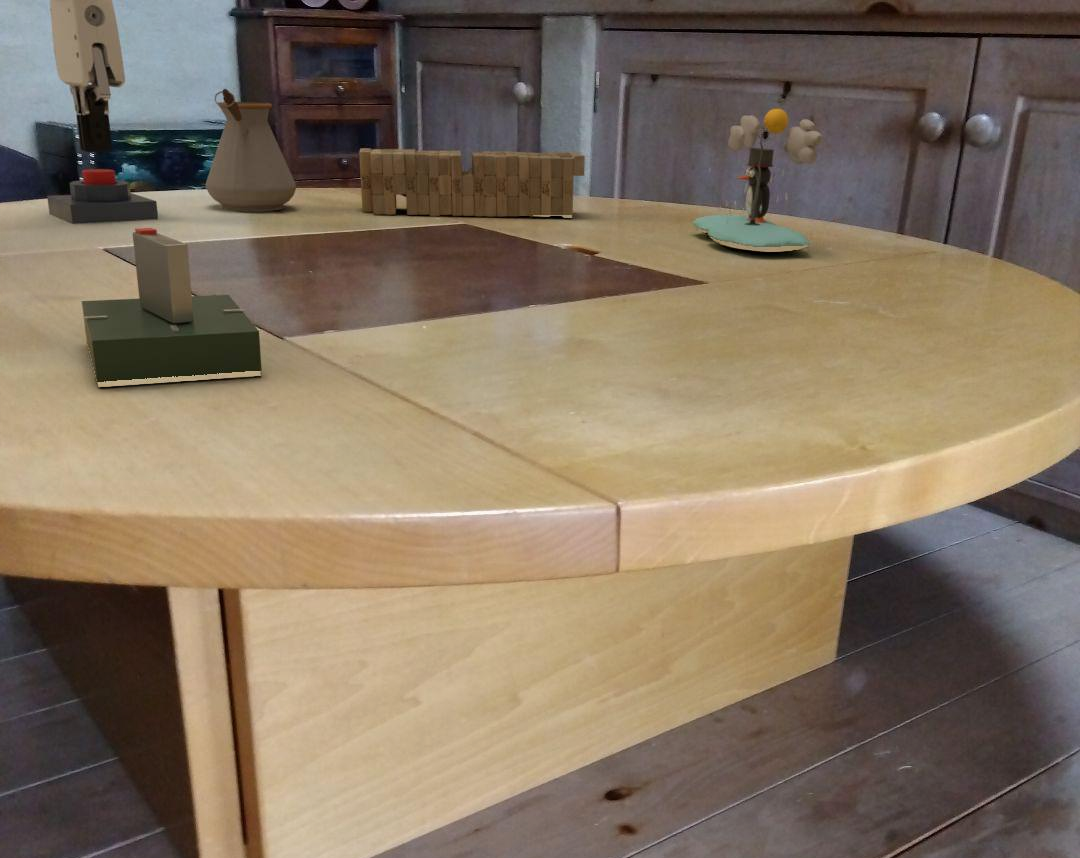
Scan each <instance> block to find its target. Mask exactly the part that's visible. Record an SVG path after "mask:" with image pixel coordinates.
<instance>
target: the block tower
mask: <svg viewBox="0 0 1080 858" xmlns="http://www.w3.org/2000/svg"><path fill="white" fill-rule="evenodd" d="M358 154H359V173H360V175H359V176H360V191H361V205H362V207H361V209H362V212H363V213H373V214H374V215H390V216H391V215H397V195H399V196H402V197H405V200H406V201H405V202H406V215H407V216H408V215H409V216H410V215H411V216H418V215H420V216H421V215H423V216H427V215H429V216H430V217H440V216H441V215H442V216H452V217H453V216H455V217H462V216H464V217H472V216H474V217H519V216H533V215H573V216H574V176H575V177H584V176H585V169H586V167H585V165H586V156H585V155H584V154H581V153H579V152H569V151H566V150H563V151H562V150H561V151H559V150H558V151H557V152H525V151H507V150H506V151H502V150H501V151H499V150H498V151H497V150H495V151H492V150H483V151H482V152H472V153H471V167H470V168H469V169H468V170H463V160H462V159H463V157H462V153H461V150H416V149H415V148H406V149H404V148H395V149H394V148H381V149H380V148H379V149H377V148H375V149H372V148H370V147H369V148H366V147H363V148H361V147H360V148H359V152H358Z"/></svg>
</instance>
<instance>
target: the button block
mask: <svg viewBox="0 0 1080 858" xmlns="http://www.w3.org/2000/svg"><path fill="white" fill-rule="evenodd" d="M69 190H70V194H63V195H62V194H61V195H58V194H57V195H47V196H46V198H47V199H46V200H47V205H48V213H49V215H50V216H52V217H55V218H57V219H60V220H62V221H65V222H67V223H68V224H69V223H70V224H72V225H80V224H97V223H99V224H100V223H113V222H114V223H117V222H135V221H151V220H152V221H153V220H154V221H155V220H159V213H158V212H159V211H158V203H157V201H156V200H154V199H152V198H148V197H145V196H142V195H139V194H135V193H133V192H132V191H131V183H130V181H126V180H118V179H116V184H108V185H91V184H84V182H83V179H82V180H81V179H80V180H73V181H70V182H69Z"/></svg>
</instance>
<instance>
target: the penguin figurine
mask: <svg viewBox="0 0 1080 858" xmlns="http://www.w3.org/2000/svg"><path fill="white" fill-rule="evenodd" d="M788 125H789V117H788V113H787V112H786V110H784V109H781V108H772V109H770V110H769V111H768V112H767V113H766V114H765V116H764V119H763V126H764V128H763V126H761V124H760V120H759V119H758V118H757V116H754V115H751V114H750V115H743V116H742V117H741V118H740V125H732V126H731V127H730V131H729V133H730V136H729V138H728V143H727V145H728V148H729V149H730V150H733V151H735V152H737V153H739V152H741V151H742V149H743V146H745V147H746V148H749V149H748V150H749V156H748V163H746V166H747V168H746V170H745V175H743V176H739V177H735V179H736V180H743V181H744V180H745V181H748V183H745V187H744V188H743V189H744V193H746V196H745V197H746V198H745V199H744V201H745V207H742V211H741V213H742V214H745V212H746V214H747V215H736V214H731V213H732V211H731V208H729V210H728V214H712V215H710V214H709V215H704V216H701V217H698V218H696V219H694V220H693V222H692V223H691V224H692V227H693V226H694V227H696V228H699V229H701V230H706V231H708V234H707V235H709V236H710V237H712V238H714V239H716V240H720V241H725V242H732V243H737V244H741V245H745V246H753V247H781V246H804V245H809V246H810V241H809V238H808V237H807V236H806V235H805V234H803V233H802V232H800V231H798V230H795V229H792V228H790V227H785V226H782V225H778V224H776V223H774V222H773V221H771V220H768V219H765V218H764V217H765V216H766V215H767V213H768V211H769V207H770V198H771V191H770V187H769V185H768V184H769V183H772V182H773V181H772V180H773V179H774V178H775V176H776V175H775V174H776V173H771V170H770V168H773V167H774V165H773V161H774V153H775V149H774V148H764V147H765V146H767V145H763V144H762V143H763V142H764V141H768V138H765V139H763V137H764V134H765V132H769V133H770V134H775V135H776V134H781V133H782V132H784V131H785V130H786V128H787V127H788ZM798 125H799V126H792V127H790V128H789V129H788V131H787V141H786V142H785V143H783V145H782V150H783V152H785V153H787V154H789V158H790V160H791V162H792V163H794V164H797V165H803V164H814V163H815V162H816V160H817V157H818V150H817V146H818V145H820V144H821V143H822V142H823V135H822V134H821V133H820V131H817V130H815V127H816V125H815V123H814V122H813V121H812V120H810V119H806V118H805V119H801V121H799V124H798ZM760 129H762V134H761V136H759V132H760ZM757 138H759V139H760V141H759V142H757ZM773 138H774V137H772V138H770V140H773ZM756 142H757V144H759V145H760V147H754V146H755V145H756ZM708 170H709V171H708V173H709V175H710V173H711V170H712V168H711V167H709V168H708ZM781 176H782V177H784V176H785V169H784V168H782V171H781ZM788 196H789V194H788V193H785V196H784V199H786V201H787V200H788ZM776 202H779V195H777V196H776ZM728 203H729V202H728V201H726V202H725V208H727V206H728ZM733 204H734V206H737V199H735V201H734V203H733ZM718 210H719V211H721V210H722V206H721V204H720V205H719V209H718ZM694 227H693V228H694ZM709 236H708V237H709ZM710 237H709V238H710Z"/></svg>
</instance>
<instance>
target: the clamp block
mask: <svg viewBox="0 0 1080 858" xmlns="http://www.w3.org/2000/svg"><path fill="white" fill-rule="evenodd" d="M192 305H193V317H194V322H189V323H180V324H173V323H171V322H169V321H167V320H165V319H163V318H161V317H159V316H157V315H155V314H153V313H151V312H149V311H147V310H145V309H143V308H141V307H140V299H139V298H123V299H119V298H118V299H97V300H82V301H81V307H82V315H83V324H84V331H85V338H86V345H87V344H88V345H87V349H88V348H89V349H88V352H89V351H90V354H89V356H90V355H91V358H90V360H91V359H92V362H91V364H92V363H93V366H92V368H93V367H94V370H93V372H94V371H95V374H94V376H95V375H96V378H95V380H96V379H97V382H104V381H105V382H106V381H117V380H132V379H145V378H146V379H147V378H158V377H160V378H161V377H172V376H174V377H175V376H176V377H178V376H192V375H194V376H195V375H204V374H205V375H207V374H217V373H218V374H219V373H232V372H245V371H261V370H263V369H262V357H261V356H262V355H261V339H260V331H259V330H258V328H257V327H256V326H255V324H254V323H253V322H252V320H250V319H249V317H248V316H247V315H246V314H245V312H246V309H245V308H240V307H239V305H238V304H237V303H236V302H235V301H234V300H233V298H232V297H231V296H230V295H229V294H215V295H214V294H212V295H210V294H209V295H192ZM97 382H96V383H97Z"/></svg>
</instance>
